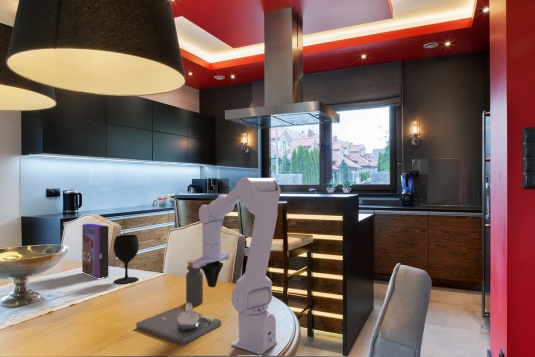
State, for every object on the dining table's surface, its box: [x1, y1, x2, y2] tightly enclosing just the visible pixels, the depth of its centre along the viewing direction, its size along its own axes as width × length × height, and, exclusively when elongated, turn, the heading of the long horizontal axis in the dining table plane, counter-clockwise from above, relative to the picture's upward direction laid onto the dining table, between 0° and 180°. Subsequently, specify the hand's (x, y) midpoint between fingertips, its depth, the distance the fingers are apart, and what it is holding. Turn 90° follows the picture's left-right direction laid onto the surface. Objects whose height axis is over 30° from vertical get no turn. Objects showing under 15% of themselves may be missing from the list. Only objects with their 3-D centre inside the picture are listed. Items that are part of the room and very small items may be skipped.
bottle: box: [185, 259, 204, 307], centre depth 120 cm, size 6×6×15 cm
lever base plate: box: [135, 307, 222, 346], centre depth 100 cm, size 20×15×2 cm
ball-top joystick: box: [177, 303, 200, 330], centre depth 100 cm, size 12×6×4 cm, turn 12°
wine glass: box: [113, 234, 140, 285], centre depth 150 cm, size 10×10×20 cm
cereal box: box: [81, 223, 109, 279], centre depth 160 cm, size 17×5×24 cm, turn 50°
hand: (212, 286), depth 105 cm, fingers closed
